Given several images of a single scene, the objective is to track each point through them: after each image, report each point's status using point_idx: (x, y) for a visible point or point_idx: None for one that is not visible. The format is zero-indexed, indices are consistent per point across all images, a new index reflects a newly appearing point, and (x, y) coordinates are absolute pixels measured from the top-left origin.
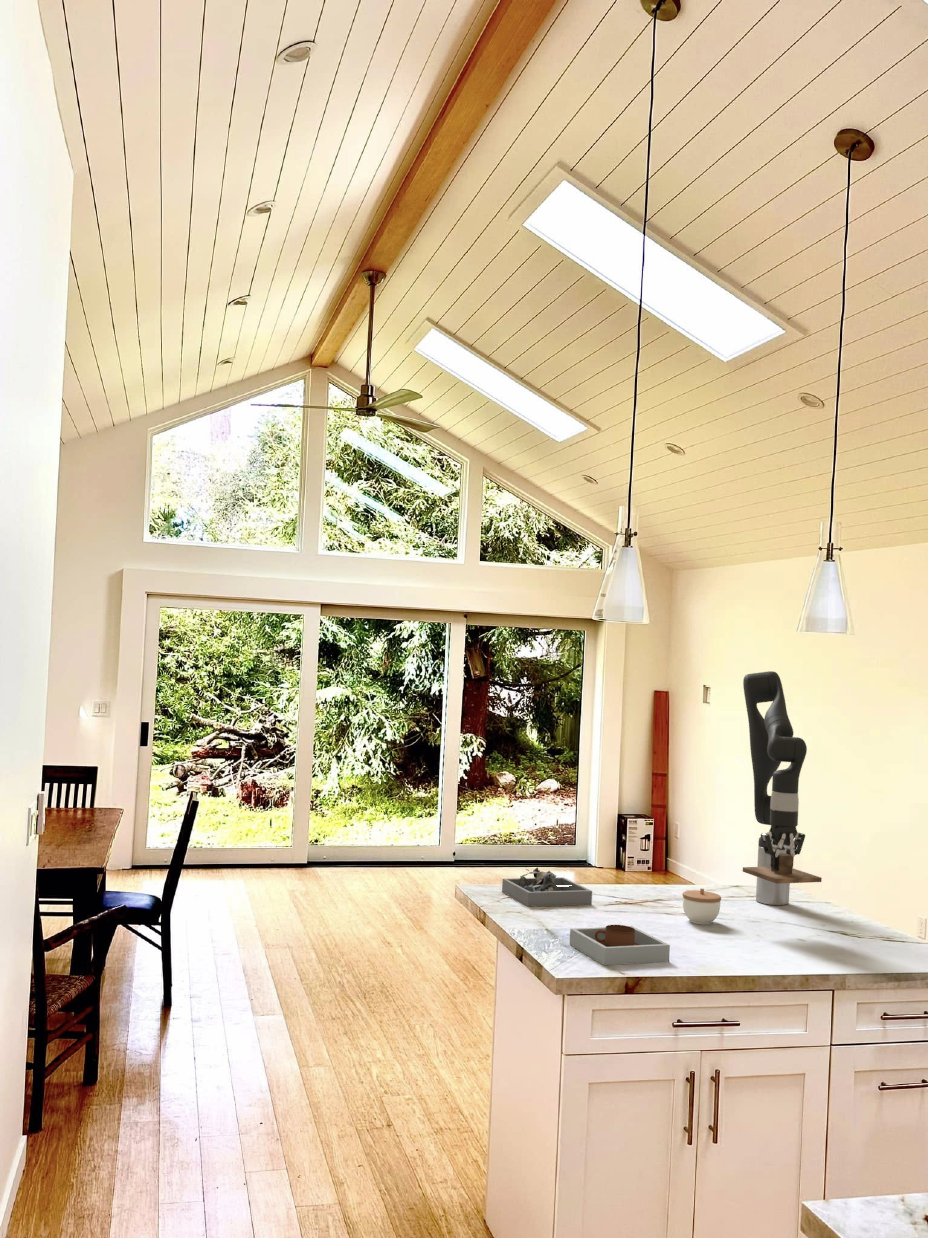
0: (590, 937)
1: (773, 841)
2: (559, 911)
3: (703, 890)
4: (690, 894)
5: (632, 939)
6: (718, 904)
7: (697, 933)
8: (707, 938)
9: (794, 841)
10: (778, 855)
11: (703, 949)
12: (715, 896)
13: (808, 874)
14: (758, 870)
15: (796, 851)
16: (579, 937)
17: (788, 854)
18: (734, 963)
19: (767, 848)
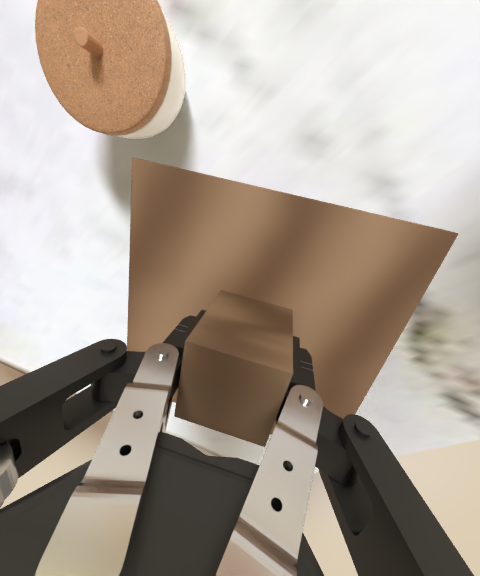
0: None
1: (116, 440)
2: None
3: (86, 48)
4: (49, 39)
5: None
6: (139, 132)
7: (82, 184)
8: (82, 224)
9: (401, 544)
10: (170, 400)
11: (38, 274)
12: (124, 106)
13: (338, 407)
14: (164, 254)
15: (321, 474)
16: None
17: (271, 418)
18: (49, 343)
19: (89, 376)
